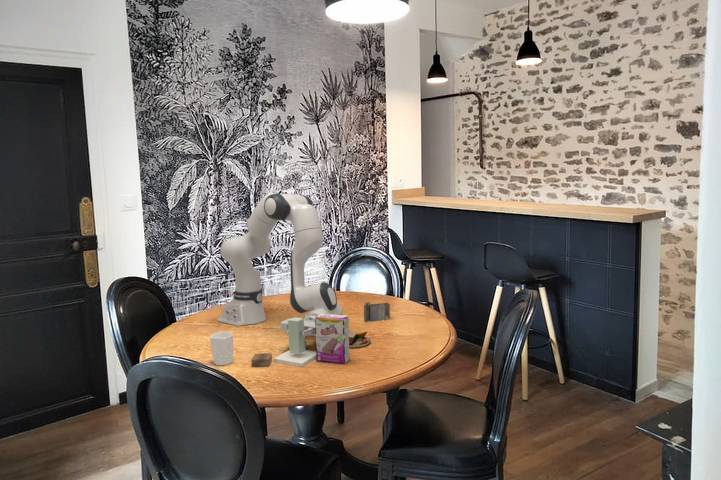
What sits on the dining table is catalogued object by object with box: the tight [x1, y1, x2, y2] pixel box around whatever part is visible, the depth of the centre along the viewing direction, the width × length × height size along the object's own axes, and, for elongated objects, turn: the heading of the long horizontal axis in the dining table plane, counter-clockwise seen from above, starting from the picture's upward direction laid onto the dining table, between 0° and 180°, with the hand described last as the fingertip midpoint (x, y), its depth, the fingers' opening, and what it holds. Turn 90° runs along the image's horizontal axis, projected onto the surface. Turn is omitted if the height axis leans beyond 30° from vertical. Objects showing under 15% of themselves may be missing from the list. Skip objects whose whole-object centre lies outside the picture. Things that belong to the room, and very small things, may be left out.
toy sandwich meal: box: [349, 330, 372, 349], centre depth 205 cm, size 12×14×5 cm
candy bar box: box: [315, 314, 351, 365], centre depth 186 cm, size 11×5×16 cm, turn 71°
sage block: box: [288, 317, 306, 354], centre depth 189 cm, size 4×4×12 cm
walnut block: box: [250, 352, 273, 368], centre depth 186 cm, size 6×6×3 cm
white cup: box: [209, 331, 234, 366], centre depth 189 cm, size 8×8×10 cm
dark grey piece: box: [363, 301, 391, 323], centre depth 234 cm, size 11×3×10 cm, turn 103°
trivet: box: [273, 349, 316, 368], centre depth 190 cm, size 12×12×1 cm
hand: (295, 333), depth 188 cm, fingers closed on sage block, 4 cm apart
